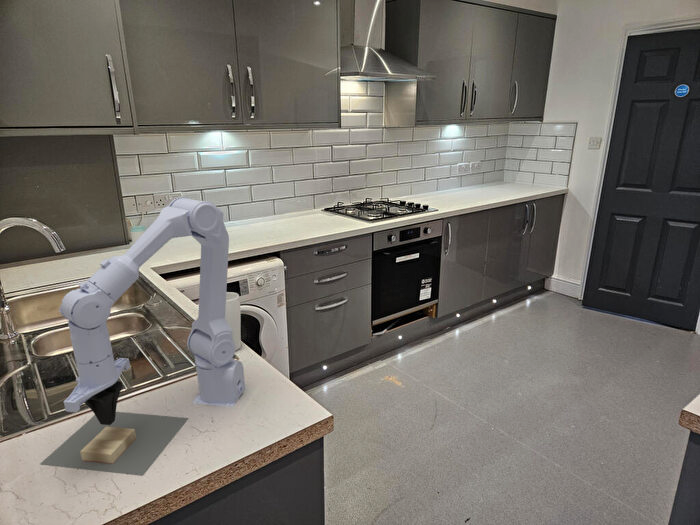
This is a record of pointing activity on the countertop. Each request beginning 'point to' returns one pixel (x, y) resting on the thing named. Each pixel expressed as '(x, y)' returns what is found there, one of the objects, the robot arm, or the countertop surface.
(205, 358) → the robot arm
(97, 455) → the tile
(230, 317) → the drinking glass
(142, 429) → the mat
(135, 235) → the can
